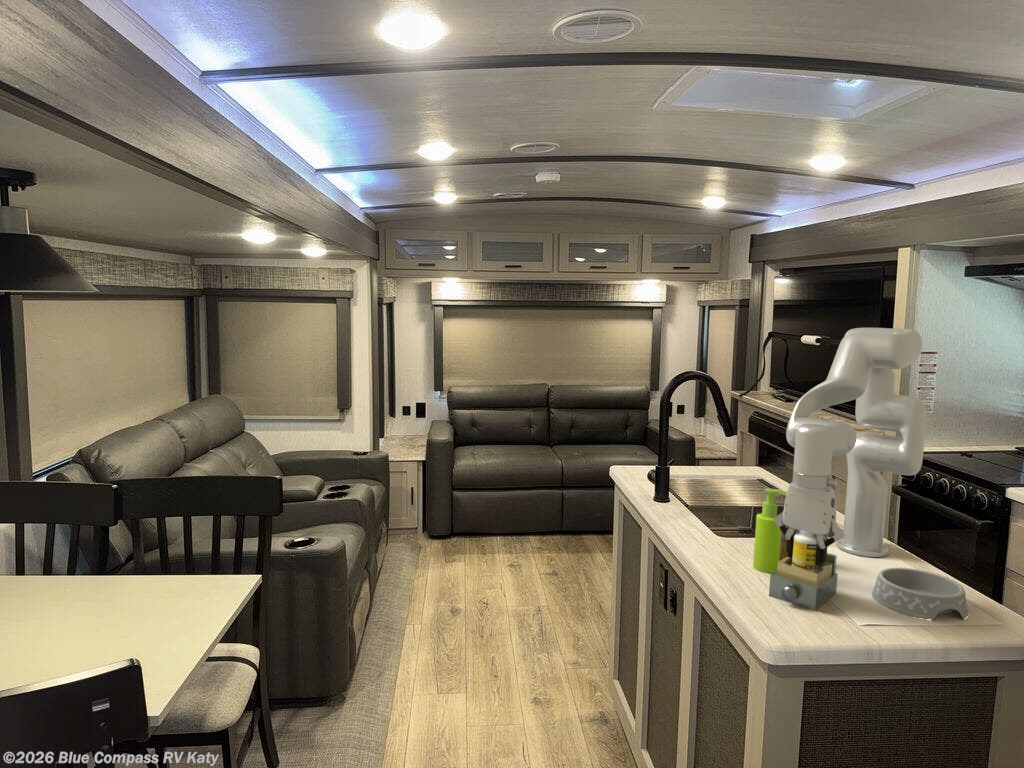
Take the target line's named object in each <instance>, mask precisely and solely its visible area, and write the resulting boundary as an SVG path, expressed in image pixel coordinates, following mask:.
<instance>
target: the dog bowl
mask: <svg viewBox="0 0 1024 768" xmlns="http://www.w3.org/2000/svg"><path fill="white" fill-rule="evenodd" d="M871 597H872V598H873V600H874V601H876V603H878V604H879V605H880V606H883V607H884V608H886V609H888V610H890V611H893V612H895V613H898V614H900V615H903V616H907V617H909V618H910V617H911V618H913V617H916V618H915V619H917V618H923V619H931V620H933V621H935V618H936V617H937V615H944V614H945V615H946V614H949V613H953V611H957V612H958V613H959V614H960V616H961V617H962V620H963V619H964V618H966V617H967V616H968V614H969V613H970V612H969V609H968V608H969V607H968V603H967V597H966V591H965V588H964V587H963V586H962V585H961V584H960V583H959V582H957V581H955V580H953V579H952V578H949V577H948V576H945V575H942V574H938V573H935V572H930V571H927V570H924V569H923V570H922V569H919V568H910V567H909V568H908V567H888V568H885V569H881V570H879V572H878V574H877V577H876V580H875V583H874V586H873V588H872V591H871ZM969 615H970V614H969ZM968 617H969V616H968Z"/></svg>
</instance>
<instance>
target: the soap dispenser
mask: <svg viewBox="0 0 1024 768" xmlns="http://www.w3.org/2000/svg"><path fill="white" fill-rule="evenodd" d="M763 492H764V493H766V500H764V501H762V509H761V510H762V512H761V513H757V514H756V517H755V518H756V519H755V531H754V533H755V534H754V535H755V536H754V549H753V562H752V563H753V564H752V567H753V569H755V570H756V571H757V572H758V571H759V572H762V573H766V574H767V573H768V574H771V573H773V572H775V571H776V570H777V564H778V562H779V558H780V544H781V530H780V528H779V527H778V526H777V525H776V523H775V522H774V518H776V517H777V516H778V515H779V514H778V503H777V502H776V501H775V495H776V494H777V495H781V496H783V497H786V495H787V491H784V490H782V489H776V488H768V487H767V488H765V489H764V490H763Z"/></svg>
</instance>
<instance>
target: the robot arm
mask: <svg viewBox="0 0 1024 768" xmlns="http://www.w3.org/2000/svg"><path fill="white" fill-rule="evenodd" d="M922 349H923V338H922V336H921V334H920V333H919V332H918V331H917V330H915V329H913V328H912V329H911V328H887V327H856V328H851V329H849V330H847V332H846V333H845V334H844V337H843V338H842V339H841V341H840V343H839V345H838V348H837V350H836V354H835V355H834V358H833V361H832V364H831V366H830V370H829V372H828V375H827V376H826V379H825V380H824V381H822V382H821V383H819V384H817V385H815V386H814V387H812V388H810V389H809V390H807V392H806V393H804V394H803V395H802V396H801V397H800V398H799V399H798V400H797V402H796V403H795V406H794V408H793V410H792V411H791V415H790V417H789V420H788V423H787V426H786V431H785V433H786V434H785V436H786V441H787V444H789V445H790V446H791V447H792V448H794V456H793V469H792V471H793V472H792V482H790V483H789V485H788V488H787V491H786V492H787V495H786V496H785V500H784V506H783V510H782V512H781V513H779V514H777V515H778V516H777V517H776V518H774V522H775V523H776V525H777V526H778V527H779V528H780V530H781V531H782V533H783V534H784V535H785V538H786V539H787V547H786V552H788V557H789V558H791V557H792V555H793V543H794V535H795V534H796V533H797V531H798V530H806V531H807V532H810V533H812V534H816V535H817V539H818V543H819V547H818V548H817V550H816V563H815V564H816V565H817V566H820V565H821V564H823V563H824V562H825V561H826V558H827V553H828V547H829V546H831V545H832V544H835V545H836V548H839V549H840V550H842V551H844V552H846V553H849V554H851V555H855V556H860V557H868V558H869V557H870V558H882V557H886V556H888V555H889V553H890V549H889V547H888V546H887V545H885V544H884V536H885V535H884V533H885V525H886V512H887V510H886V509H887V500H888V499H887V498H888V485H887V482H886V480H885V478H884V477H883V475H882V474H881V473H880V472H884V473H889V474H890V473H891V474H895V475H902V476H916V475H917V474H919V472H920V470H921V468H922V465H923V459H924V451H925V450H924V449H925V447H924V446H925V438H926V437H925V436H926V426H927V424H926V423H927V411H926V410H927V409H926V405H925V402H924V401H923V400H921V399H920V398H919V397H916V396H913V395H903V394H896V393H895V382H896V381H895V379H896V376H895V372H894V370H901V369H904V368H906V367H909V366H911V365H913V364H914V363H915V362H916V361H917V360H918V359H919V357H920V356H921V353H922ZM854 400H855V412H854V413H855V420H856V423H857V424H858V425H859V426H860V427H863V428H868V429H874V430H881V431H886V432H887V431H888V432H895V433H900V435H901V436H894V435H887V434H882V433H873V432H872V433H871V432H858V433H856V430H855V429H854V427H853V426H852V425H851V424H849V423H847V422H842V421H836V420H831V419H830V420H828V419H822V418H821V419H820V418H813V417H812V416H813V415H815V413H817V412H818V411H821V410H823V409H825V408H827V407H831V406H836V405H840V404H843V403H847V402H851V401H854ZM845 455H846V462H847V463H846V464H847V483H846V496H845V507H844V509H845V510H844V520H843V521H844V522H843V530H842V529H841V527H840V526H839V525H838V523H837V502H836V500H837V499H836V493H835V489H834V488H831V487H837V486H838V480H837V479H834V478H833V475H832V466H833V463H832V462H833V456H845ZM832 532H833V534H834V535H833V536H831V537H829V533H832Z"/></svg>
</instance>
